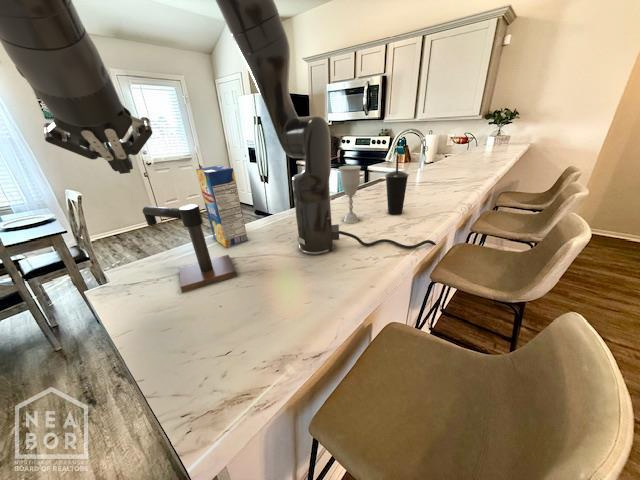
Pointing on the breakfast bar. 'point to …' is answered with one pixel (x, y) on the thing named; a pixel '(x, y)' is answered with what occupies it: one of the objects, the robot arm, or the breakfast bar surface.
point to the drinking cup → (396, 190)
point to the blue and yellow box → (222, 204)
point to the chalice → (350, 187)
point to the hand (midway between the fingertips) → (124, 169)
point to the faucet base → (204, 265)
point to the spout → (175, 214)
